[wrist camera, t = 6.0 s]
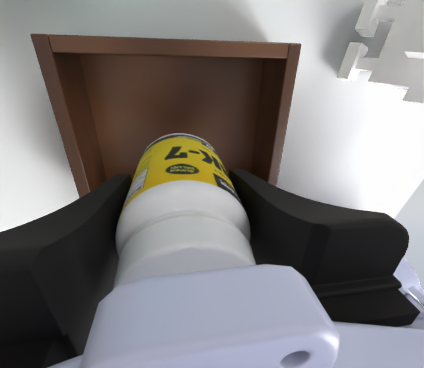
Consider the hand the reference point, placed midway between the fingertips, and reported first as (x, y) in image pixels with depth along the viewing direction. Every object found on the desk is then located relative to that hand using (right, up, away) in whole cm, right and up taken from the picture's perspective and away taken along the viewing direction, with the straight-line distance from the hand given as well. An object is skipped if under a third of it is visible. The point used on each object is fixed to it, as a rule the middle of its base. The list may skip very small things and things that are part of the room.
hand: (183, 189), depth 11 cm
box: (-1, +5, +8) cm, 9 cm away
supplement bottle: (0, +1, +2) cm, 2 cm away
